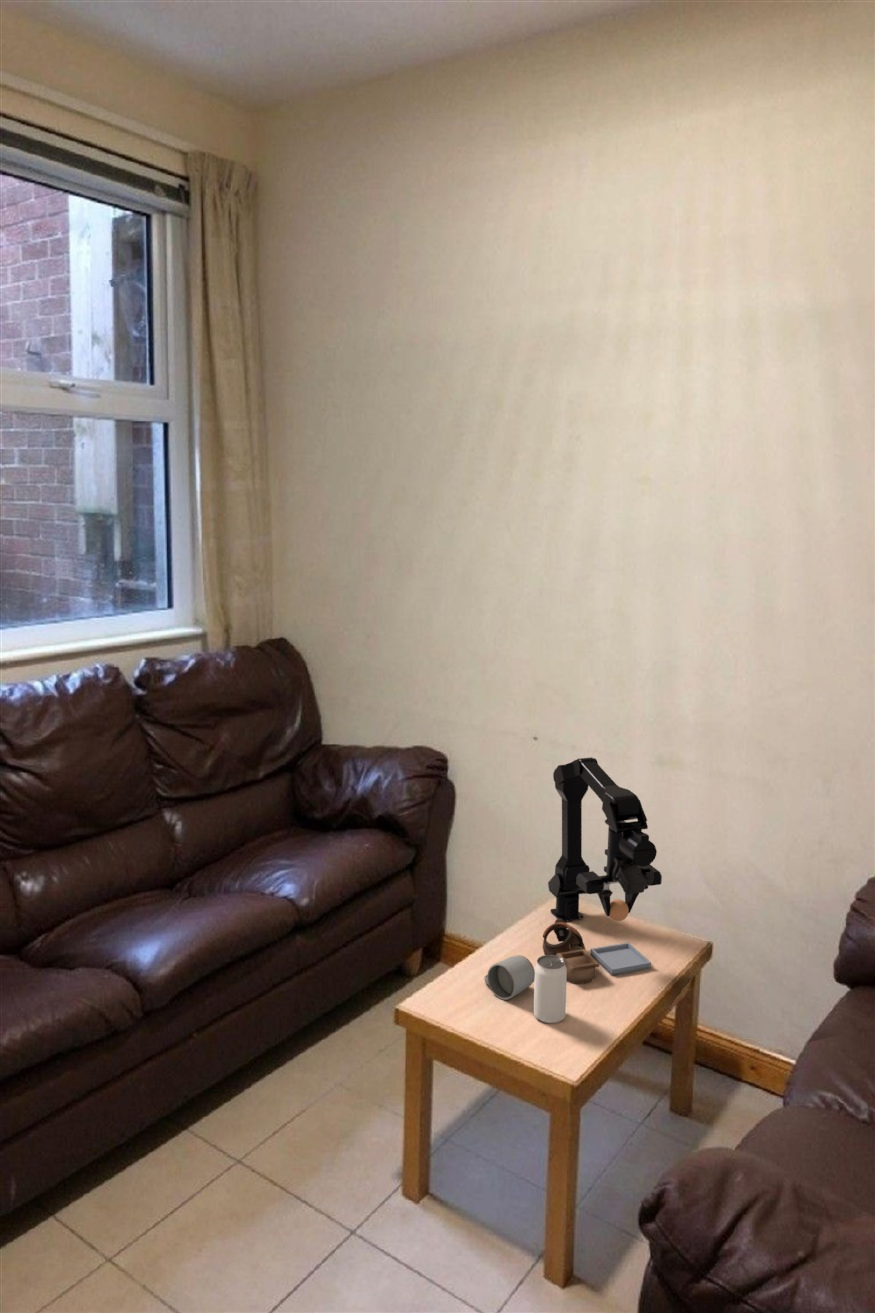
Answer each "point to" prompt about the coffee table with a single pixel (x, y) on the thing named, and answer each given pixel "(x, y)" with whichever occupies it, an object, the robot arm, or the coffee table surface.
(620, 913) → the ball
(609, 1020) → the coffee table surface
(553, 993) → the can
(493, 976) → the ceramic mug
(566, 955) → the open wooden box
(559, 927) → the pottery mug
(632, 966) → the tray
